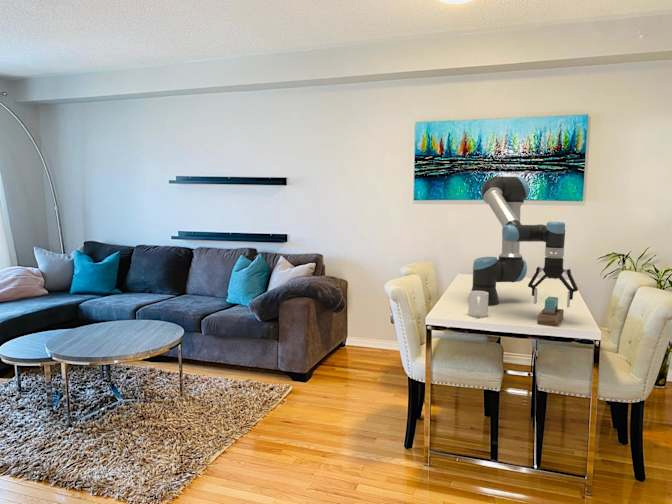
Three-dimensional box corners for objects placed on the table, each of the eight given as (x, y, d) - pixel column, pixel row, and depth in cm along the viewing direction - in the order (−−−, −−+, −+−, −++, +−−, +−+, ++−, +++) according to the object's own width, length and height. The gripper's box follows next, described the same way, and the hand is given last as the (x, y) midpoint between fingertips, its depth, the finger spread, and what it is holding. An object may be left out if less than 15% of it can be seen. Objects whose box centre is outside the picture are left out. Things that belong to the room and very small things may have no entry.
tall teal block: (553, 324, 223) (555, 301, 222) (543, 322, 226) (545, 300, 224) (557, 319, 232) (558, 297, 231) (547, 318, 234) (548, 296, 233)
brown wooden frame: (557, 326, 219) (557, 317, 219) (537, 324, 223) (537, 315, 223) (563, 318, 234) (563, 309, 234) (544, 315, 239) (544, 307, 238)
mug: (467, 318, 233) (468, 294, 231) (468, 312, 244) (469, 290, 243) (487, 319, 230) (488, 296, 229) (487, 313, 242) (488, 291, 241)
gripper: (522, 256, 229) (520, 303, 231) (584, 260, 216) (581, 309, 218) (525, 254, 235) (523, 300, 238) (586, 258, 223) (583, 306, 225)
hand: (551, 305), depth 228 cm, fingers open, 13 cm apart
